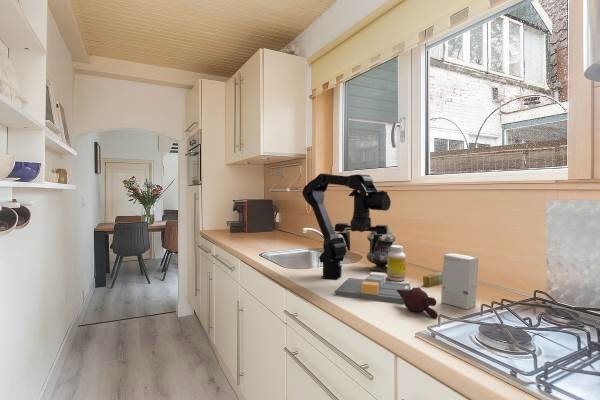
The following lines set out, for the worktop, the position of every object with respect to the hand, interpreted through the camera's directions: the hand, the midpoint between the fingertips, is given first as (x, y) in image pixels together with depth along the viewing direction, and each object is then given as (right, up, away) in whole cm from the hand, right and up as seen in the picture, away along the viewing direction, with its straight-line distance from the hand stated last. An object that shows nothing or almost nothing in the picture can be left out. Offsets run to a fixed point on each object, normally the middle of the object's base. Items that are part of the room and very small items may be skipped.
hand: (360, 251), depth 124 cm
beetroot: (+11, -13, -27) cm, 32 cm away
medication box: (+28, -12, +1) cm, 31 cm away
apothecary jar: (+13, -12, +23) cm, 29 cm away
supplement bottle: (+15, -12, +8) cm, 21 cm away
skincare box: (+26, -13, -21) cm, 36 cm away
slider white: (+6, -10, -2) cm, 12 cm away
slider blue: (+3, -11, -9) cm, 14 cm away
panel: (+3, -12, -9) cm, 15 cm away
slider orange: (0, -11, -15) cm, 19 cm away
